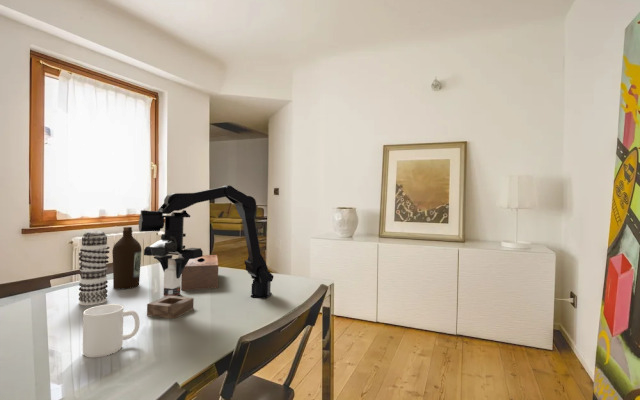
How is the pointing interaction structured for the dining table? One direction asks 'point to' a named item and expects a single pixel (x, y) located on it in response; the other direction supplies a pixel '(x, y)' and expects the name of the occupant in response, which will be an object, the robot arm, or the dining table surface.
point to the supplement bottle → (172, 291)
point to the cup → (105, 329)
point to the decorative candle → (93, 268)
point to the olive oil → (126, 261)
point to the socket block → (170, 306)
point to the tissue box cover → (200, 273)
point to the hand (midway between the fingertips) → (172, 277)
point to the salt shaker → (171, 275)
